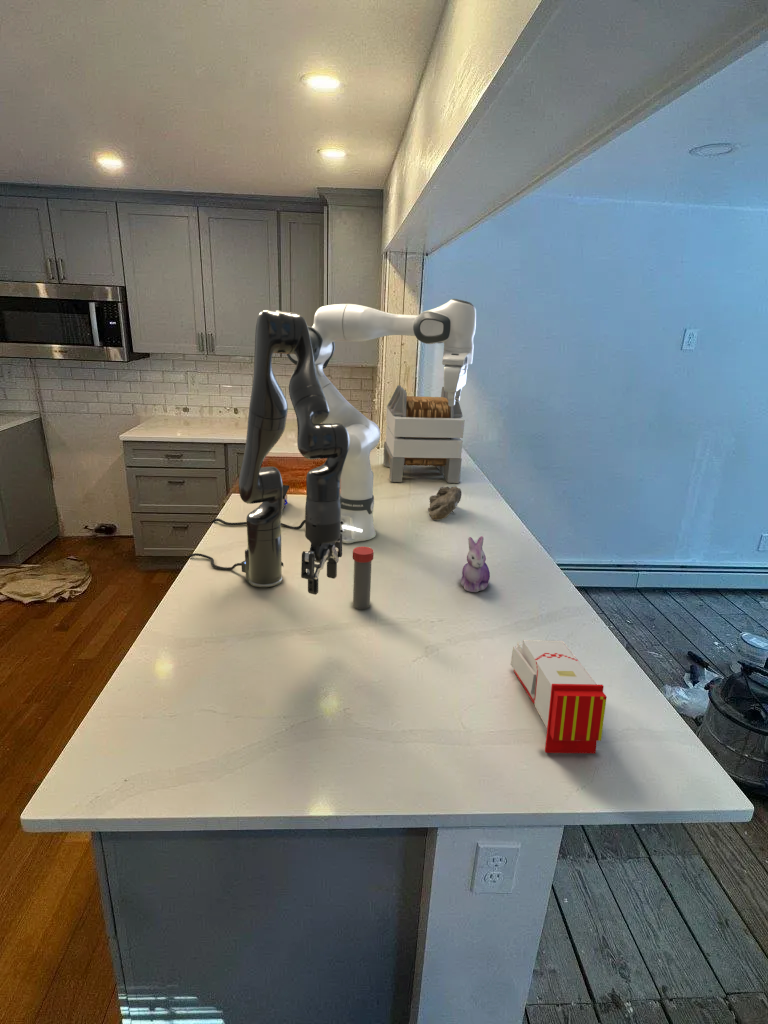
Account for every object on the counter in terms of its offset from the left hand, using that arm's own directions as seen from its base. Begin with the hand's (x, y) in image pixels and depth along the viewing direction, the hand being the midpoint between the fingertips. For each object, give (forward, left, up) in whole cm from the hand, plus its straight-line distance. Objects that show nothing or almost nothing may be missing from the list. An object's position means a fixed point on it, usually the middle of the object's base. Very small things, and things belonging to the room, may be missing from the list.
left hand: (322, 585), depth 126 cm
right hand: (+6, +71, +32) cm, 78 cm away
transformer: (-31, +152, -16) cm, 156 cm away
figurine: (+24, +48, -16) cm, 56 cm away
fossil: (-4, +104, -16) cm, 105 cm away
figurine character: (-62, +76, -16) cm, 99 cm away
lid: (-1, +22, -1) cm, 22 cm away
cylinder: (-1, +22, -16) cm, 27 cm away
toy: (+51, +3, -16) cm, 53 cm away
